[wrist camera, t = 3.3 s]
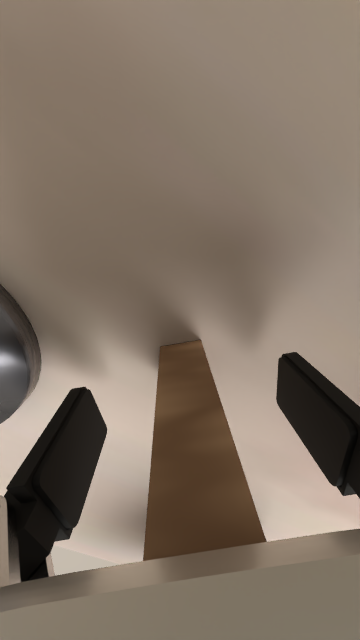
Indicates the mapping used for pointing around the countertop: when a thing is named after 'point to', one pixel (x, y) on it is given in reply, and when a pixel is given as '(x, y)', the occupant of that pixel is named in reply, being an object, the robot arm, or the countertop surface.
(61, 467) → the robot arm
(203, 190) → the countertop surface
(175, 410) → the tan wooden beam
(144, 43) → the countertop surface
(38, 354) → the round metal socket base
